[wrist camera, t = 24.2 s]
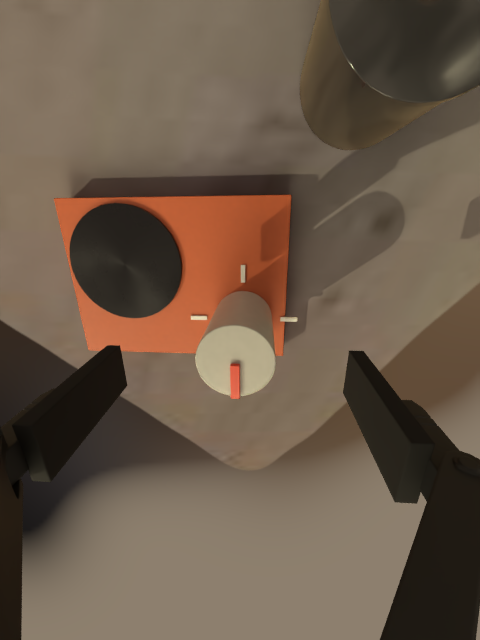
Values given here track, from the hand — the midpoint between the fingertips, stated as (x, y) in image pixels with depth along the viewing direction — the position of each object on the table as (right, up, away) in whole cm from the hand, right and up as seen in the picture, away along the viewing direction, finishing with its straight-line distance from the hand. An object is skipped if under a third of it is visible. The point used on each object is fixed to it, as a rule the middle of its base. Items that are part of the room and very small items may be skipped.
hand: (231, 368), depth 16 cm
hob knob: (+1, +3, +7) cm, 8 cm away
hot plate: (-5, +7, +9) cm, 12 cm away
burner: (-9, +7, +7) cm, 13 cm away
